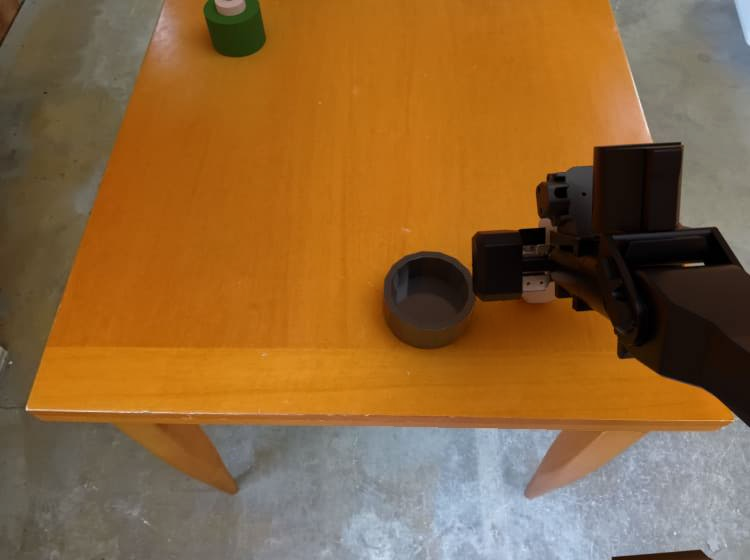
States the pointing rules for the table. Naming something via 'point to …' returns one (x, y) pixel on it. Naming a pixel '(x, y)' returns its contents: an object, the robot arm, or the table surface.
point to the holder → (428, 299)
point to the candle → (235, 26)
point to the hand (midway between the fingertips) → (545, 245)
